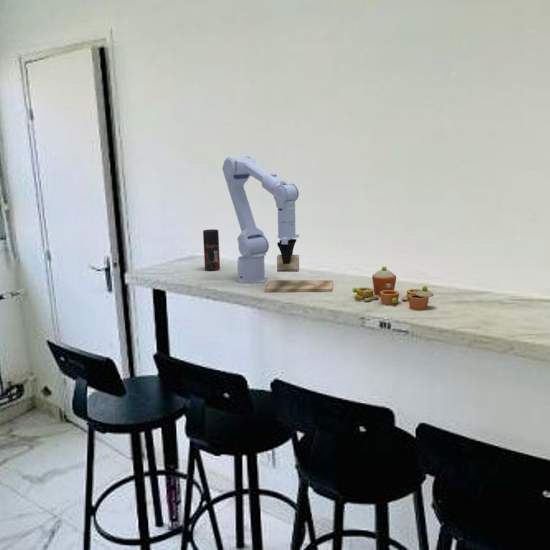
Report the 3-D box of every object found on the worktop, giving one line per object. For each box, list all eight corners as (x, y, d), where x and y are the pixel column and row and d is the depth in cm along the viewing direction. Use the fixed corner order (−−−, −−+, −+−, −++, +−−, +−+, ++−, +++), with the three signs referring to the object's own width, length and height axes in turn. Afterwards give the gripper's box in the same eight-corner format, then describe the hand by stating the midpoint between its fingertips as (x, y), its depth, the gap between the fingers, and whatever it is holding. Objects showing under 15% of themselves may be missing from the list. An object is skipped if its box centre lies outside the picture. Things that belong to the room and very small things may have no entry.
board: (264, 291, 197) (264, 288, 197) (269, 283, 209) (269, 280, 209) (332, 292, 194) (332, 288, 194) (333, 283, 206) (333, 280, 206)
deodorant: (210, 266, 240) (209, 229, 237) (223, 267, 237) (221, 229, 234) (201, 269, 235) (199, 231, 232) (214, 270, 232) (212, 232, 229)
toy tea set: (346, 301, 185) (346, 270, 183) (374, 291, 196) (375, 262, 194) (422, 316, 167) (423, 282, 165) (448, 304, 178) (450, 272, 176)
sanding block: (277, 271, 199) (276, 257, 198) (278, 269, 203) (278, 254, 202) (298, 271, 198) (297, 257, 197) (299, 269, 202) (299, 254, 201)
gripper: (296, 224, 190) (297, 266, 193) (300, 218, 204) (301, 258, 207) (274, 224, 191) (275, 266, 194) (279, 218, 205) (280, 258, 208)
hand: (287, 262), depth 200 cm, fingers closed on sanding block, 4 cm apart
